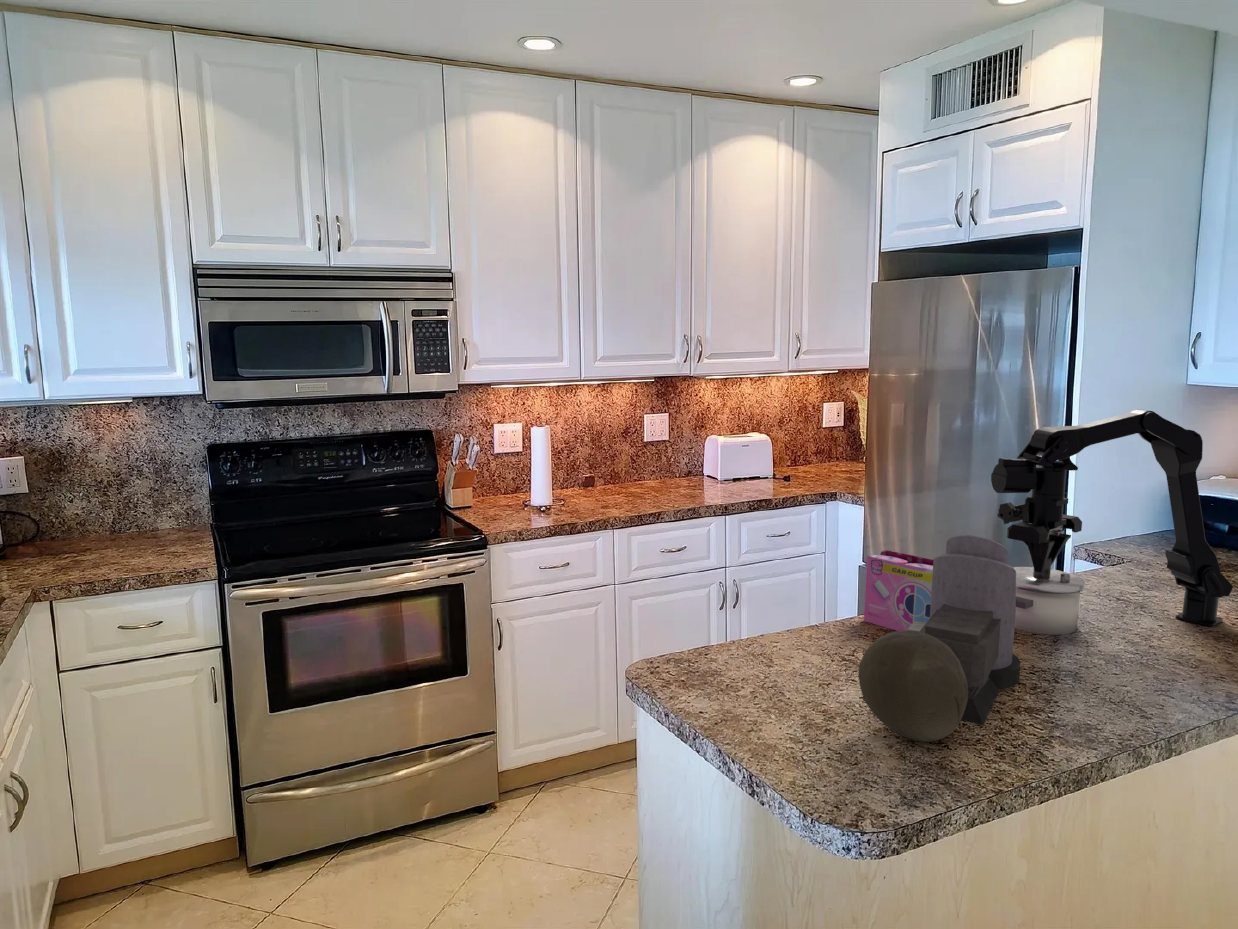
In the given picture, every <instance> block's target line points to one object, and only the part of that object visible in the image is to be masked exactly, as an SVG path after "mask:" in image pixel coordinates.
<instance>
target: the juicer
mask: <svg viewBox="0 0 1238 929" xmlns="http://www.w3.org/2000/svg"><path fill="white" fill-rule="evenodd" d="M945 547H946V548H945V553H941V554H939V555H937V556H936V557H934V558H933V559H932V560H933V575H932V591H931V607H930V619H929V620H928V622H919V621H914V622H913V624H912V625H911V626H910V627H909V628H908V629H907V631H916V632H922V633H925V634H929V635H931V636H933V637H935V638H937V639H938V640H940V641H941V642H943V643H945V644H946V645H947V646H949V647H950V649H951V650H952V651H953V652H954V654H955V655H956V656H957V658H958V659H959V661H960V663H961V666H962V668H963V671H964V673H965V677H966V680H967V685H968V701H967V704H966V708H965V711H964V714H963V716H962V719H961V721H962V722H967V723H972V724H976V725H981V726H984V725H985V723H986V720H988V716H989V714H990V712H991V709H992V707H993V706H994V703H995V701H996V699H997V697H998V694H999V692H1000V691H1001V690H1007V689H1010V688H1013V687H1016V686H1017V685H1018V684H1019V682H1020V675H1021V664H1022V663H1021V660H1020V658H1019V657H1018V656H1017V655H1016V654H1014V653H1013V652H1014V641H1015V629H1016V628H1015V617H1016V570H1015V569H1014V568H1013V567H1014V566H1013V565H1011V564H1008V552H1009V551H1008V550H1007V548H1006V547H1005V546H1004V545H1003V544H1001V543H999V542H997V541H995V540H993V539H989V538H986V537H982V536H977V535H971V534H970V535H967V534H964V535H963V534H961V535H960V534H959V535H954V536H951V537H950V538H948V539H947V540H946V546H945Z"/></svg>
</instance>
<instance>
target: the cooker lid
mask: <svg viewBox="0 0 1238 929" xmlns="http://www.w3.org/2000/svg"><path fill="white" fill-rule="evenodd" d="M1051 559H1052V558H1051V557H1048V558H1047V560H1046V562H1045V565H1044V567H1043V569H1042V571H1041V572H1035V570H1034V566H1012V567H1013V568H1014V569H1015V570H1016V588H1018V589H1022V590H1027V591H1032V592H1039V593H1048V594H1072V593H1078V592H1080V593H1081V592H1083V591H1084V590H1085V585H1086V584H1085V580H1084V579H1083V578H1082V577H1080V576H1079V575H1076V574H1073V573H1070V572H1066V571H1062V570H1058V569H1052V566H1051Z"/></svg>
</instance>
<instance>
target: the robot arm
mask: <svg viewBox="0 0 1238 929" xmlns="http://www.w3.org/2000/svg"><path fill="white" fill-rule="evenodd" d="M1136 434H1137V435H1138V436H1139V437H1140V438H1141V439H1143V440H1144V441H1146V442H1148V443H1149V444H1150V445H1151V448H1152V452H1153V455H1154V458H1155V460H1156V462H1157V463H1158V464H1159V466H1160V467H1161V469H1162V470H1163V472H1164V473H1165V477H1166V481H1167V482H1166V484H1167V490H1168V495H1169V502H1170V509H1171V516H1172V522H1173V529H1174V536H1175V542H1174V545H1173V546H1172V548H1171V549H1165V551H1164V554H1165V558H1166V560H1167V565H1166V569H1168V570H1170V573H1171V575H1172V576H1174V579H1175V584H1176V585H1178V586H1181V587H1183V588H1184V595H1183V603H1182V604H1183V606H1182V612H1180V613H1178V614H1176V615H1175V618H1174V619H1177V620H1181V621H1185V622H1189V623H1190V622H1191V623H1195V624H1200V625H1204V626H1207V627H1214V626H1215V625H1218V624H1219V623H1221V622H1223V621H1224V620H1223V619H1224V618H1223V617H1218V609H1219V607H1218V606H1219V601H1220V600H1219V598H1224V597H1229V596H1230V595H1231V592H1232V590H1233V589H1234V587H1233V584H1232V583H1231V582H1230V581H1229V580H1228V579H1227V578H1226V577H1225V576H1224V574H1223V573H1222V572H1221V570H1222V569H1221V565H1220V563H1219V559H1218V557H1217V554H1216V553H1215V552H1214V550H1213V548H1211V546H1210V544H1209V543H1208V541H1207V539H1206V534H1205V527H1204V519H1203V514H1202V513H1203V512H1202V505H1201V499H1200V498H1201V497H1200V492H1199V485H1198V478H1197V470H1198V467H1199V466H1200V464H1201V462H1202V460H1203V450H1204V449H1203V445H1204V444H1203V442H1204V440H1203V437H1202V436H1201V434H1200V433H1198V432H1196V430H1193V429H1187V428H1184V427H1182V426H1180V425H1179V424H1176V423H1174V422H1173V421H1170V420H1168V419H1165V418H1164V417H1162V416H1161V415H1159V414H1158V413H1157V412H1155V411H1154V410H1153V411H1152V410H1148V409H1147V410H1146V409H1139V408H1136V409H1133V410H1131V411H1129V412H1126V413H1121V414H1118V415H1115V416H1109V417H1105V418H1103V419H1102V418H1101V419H1097V420H1095V421H1090V422H1086V423H1082V424H1079V425H1058V426H1057V425H1056V426H1054V425H1053V426H1044V427H1040V428H1036V430H1034V432H1033V434H1032V435H1031V438H1030V441H1029V442H1028V443H1027V445H1026V446H1025V447H1024V448H1023V450H1021V452H1020V453H1019V454H1018V456H1017V457H1016V458H1007V457H999V458H998V462H997V464H996V465H994V468H993V470H992V472H991V474H990V475H991V476H990V478H991V479H990V481H991V486H992V488H993V490H994V492H996V493H997V494H1028V493H1030V492H1031V495H1030V496H1027V497H1026V498H1025V502H1024V503H1021V504H1017V505H1014V504H1013V502H1011V501H1009V502H1005V503H1001V504H999V508H998V509H997V510H998V512H997V517H998V518H1000V519H1001V520H1002V522H1003V524H1004V525H1007V524H1010V523H1012V524H1011V525H1010V526H1008V527H1007V530H1006V538H1007V539H1009V540H1015V541H1018V542H1019V541H1020V542H1023V543H1024V544H1025V545H1026V546H1027V548H1028V551H1029V554H1030V559H1031V562H1032V567H1034V570H1035V572H1041V571H1042V569H1043V567H1044V565H1045V562H1046V560H1047V558H1048V557H1051V558H1052V559H1051V567H1052V565H1053V564H1054V562H1055V561H1056V559H1057V557H1058V555H1059V554H1060V553H1061V551H1062V549H1063V548H1064V547H1065V545H1066V544H1067V543H1068V541H1069V539H1071V538H1072V534H1067V533H1065V530H1063V529H1067V530H1071V531H1072V533H1078V532H1082V530H1083V529H1082V528H1083V521H1082V520H1081V519H1080V517H1079V516H1075V515H1070V514H1064V506H1065V505H1069V498H1067V497H1065V491H1066V479H1067V471H1078V470H1079V467H1078V466H1077V465H1076V464H1075V463H1074V462H1073V461H1072V460H1071V458H1070V457H1072V456H1074V455H1077V454H1079V453H1080V452H1082V451H1083V450H1084V449H1086V448H1087V447H1090V446H1093V445H1096V444H1101V443H1104V442H1108V441H1112V440H1118V439H1120V438H1125V437H1127V436H1132V435H1136ZM1018 521H1019V522H1018ZM1020 521H1021V522H1020ZM1014 522H1016V523H1014Z"/></svg>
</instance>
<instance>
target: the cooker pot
mask: <svg viewBox="0 0 1238 929" xmlns="http://www.w3.org/2000/svg"><path fill="white" fill-rule="evenodd" d="M1080 602H1081V592H1078V593H1072V594H1048V593H1039V592H1032V591H1027V590H1022V589H1018V588H1016V617H1015V629H1016V630H1019V631H1023V632H1028V633H1033V634H1039V635H1040V634H1041V635H1048V636H1049V635H1050V636H1051V635H1052V636H1054V635H1055V636H1056V635H1057V636H1058V635H1069V634H1073V633H1074V632H1077V630H1078V624H1079V612H1080ZM1072 632H1073V633H1072Z"/></svg>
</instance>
